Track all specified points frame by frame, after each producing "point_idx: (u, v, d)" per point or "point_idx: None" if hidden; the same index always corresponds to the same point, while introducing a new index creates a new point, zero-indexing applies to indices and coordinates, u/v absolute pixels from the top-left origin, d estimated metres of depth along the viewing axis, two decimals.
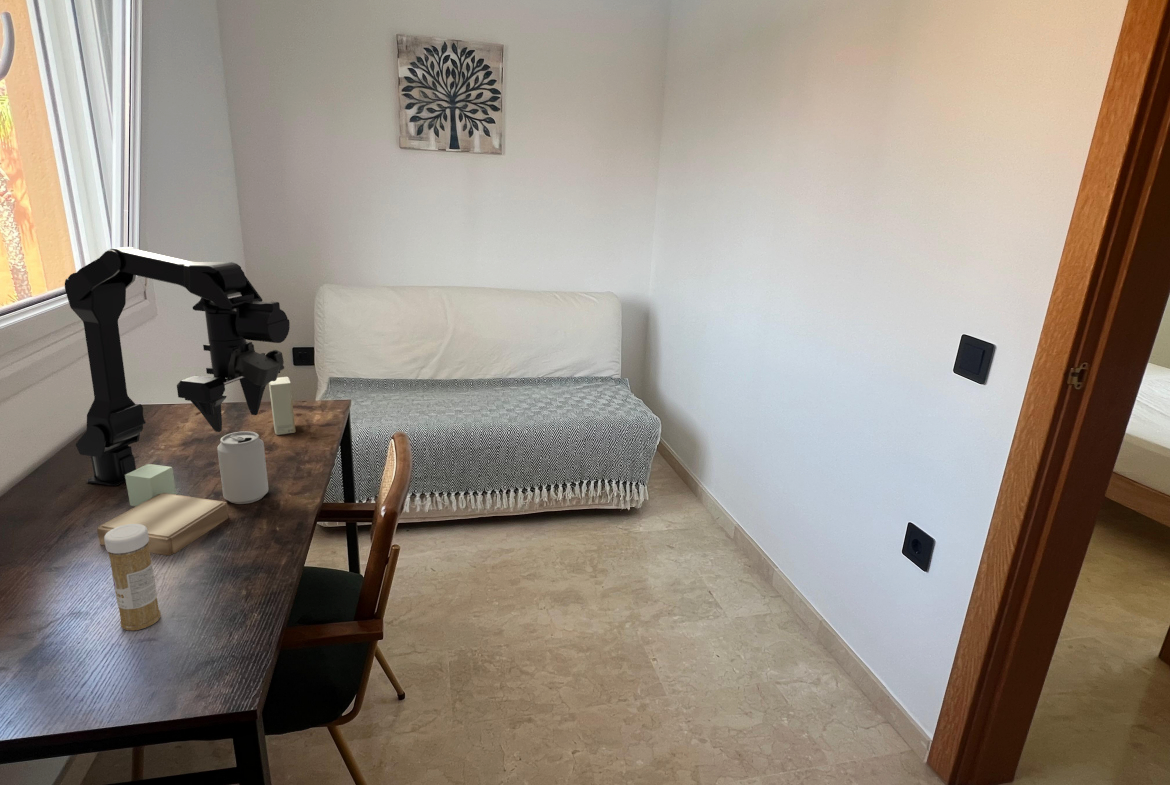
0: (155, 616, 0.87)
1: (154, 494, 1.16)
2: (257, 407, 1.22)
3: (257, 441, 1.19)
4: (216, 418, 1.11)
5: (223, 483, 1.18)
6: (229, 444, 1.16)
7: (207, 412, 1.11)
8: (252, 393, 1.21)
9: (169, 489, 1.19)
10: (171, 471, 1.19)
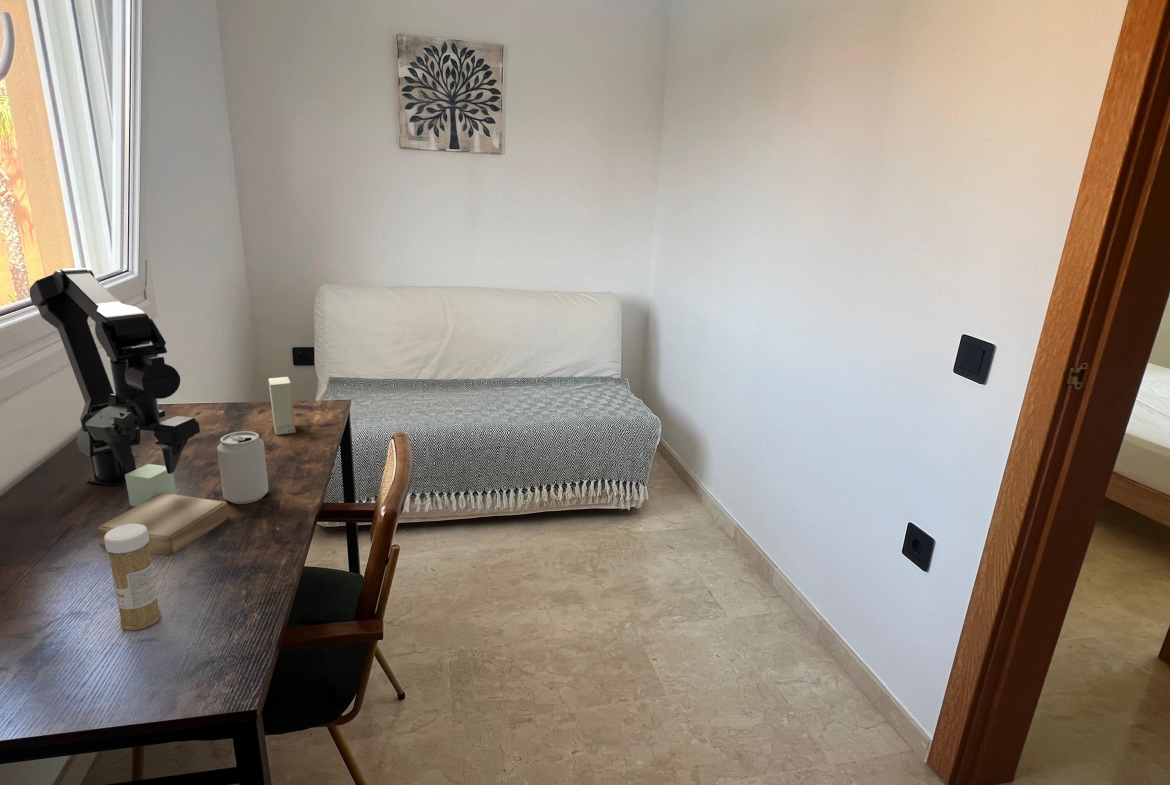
0: (155, 616, 0.87)
1: (154, 494, 1.16)
2: (167, 467, 1.15)
3: (257, 441, 1.19)
4: (114, 452, 1.16)
5: (223, 483, 1.18)
6: (229, 444, 1.16)
7: None
8: None
9: (169, 489, 1.19)
10: None
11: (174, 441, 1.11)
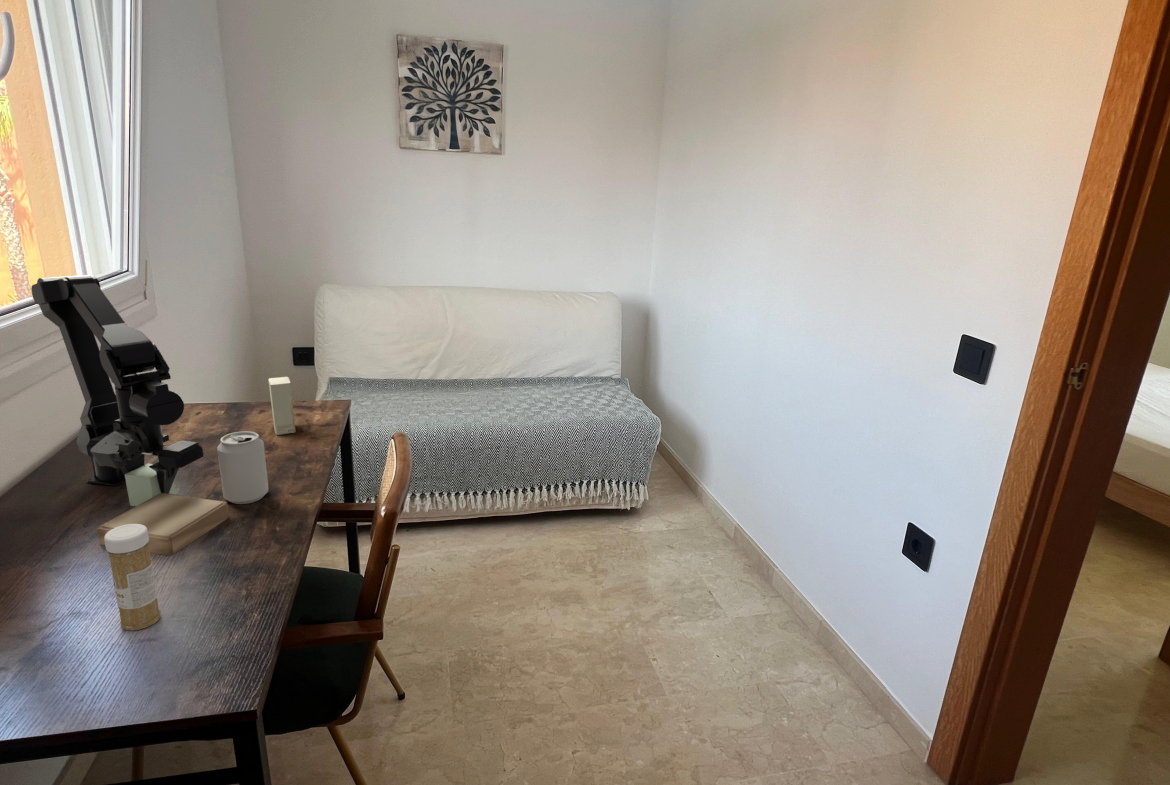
0: (155, 616, 0.87)
1: (154, 494, 1.16)
2: (162, 489, 1.17)
3: (257, 441, 1.19)
4: None
5: (223, 483, 1.18)
6: (229, 444, 1.16)
7: None
8: None
9: None
10: None
11: (178, 466, 1.12)
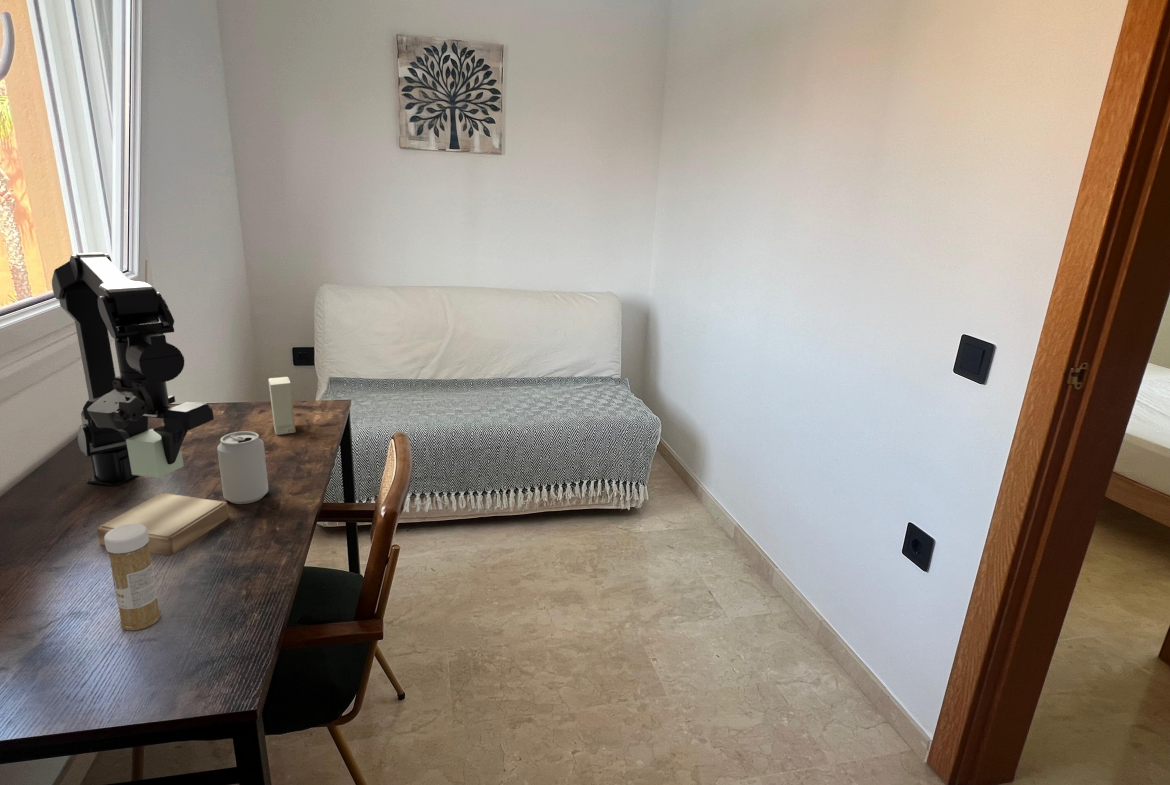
0: (155, 616, 0.87)
1: (159, 461, 1.03)
2: (167, 456, 1.05)
3: (257, 441, 1.19)
4: None
5: (223, 483, 1.18)
6: (229, 444, 1.16)
7: None
8: None
9: None
10: None
11: (186, 428, 1.00)
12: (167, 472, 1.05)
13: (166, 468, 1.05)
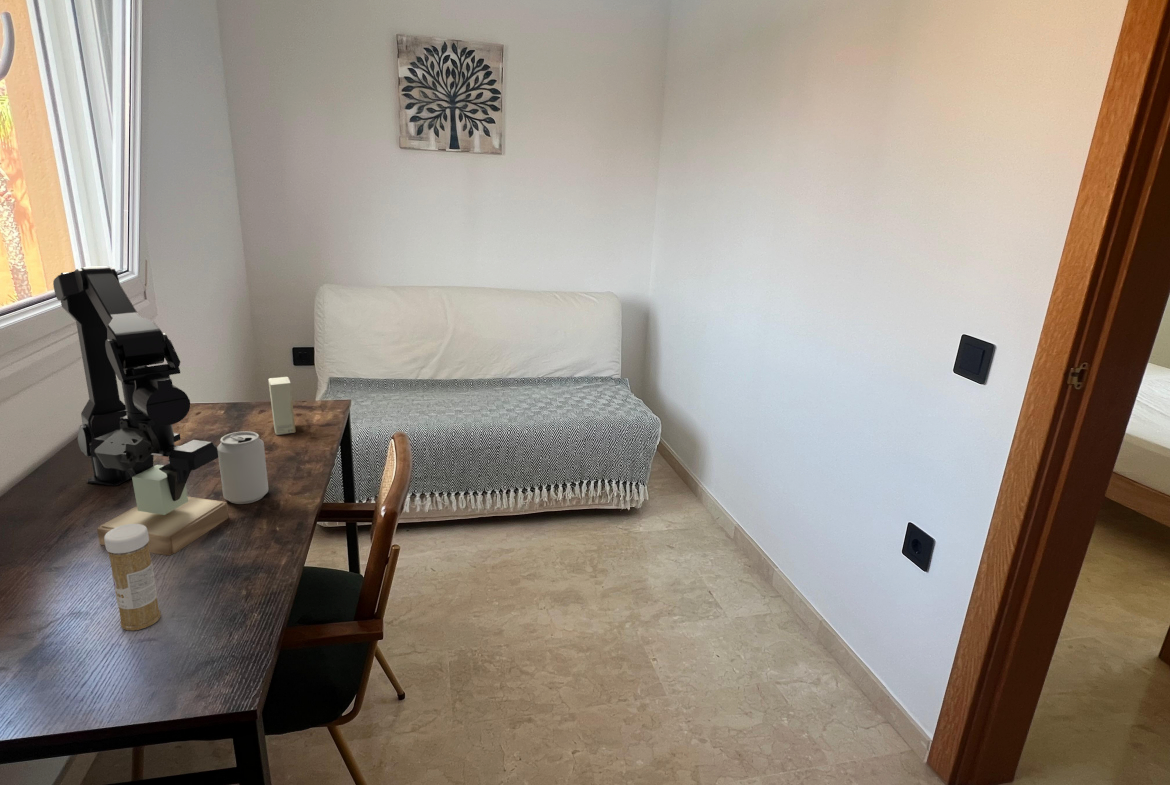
0: (155, 616, 0.87)
1: (164, 498, 1.05)
2: (172, 493, 1.06)
3: (257, 441, 1.19)
4: None
5: (223, 483, 1.18)
6: (229, 444, 1.16)
7: None
8: None
9: None
10: None
11: (191, 468, 1.01)
12: (172, 508, 1.07)
13: (171, 505, 1.07)
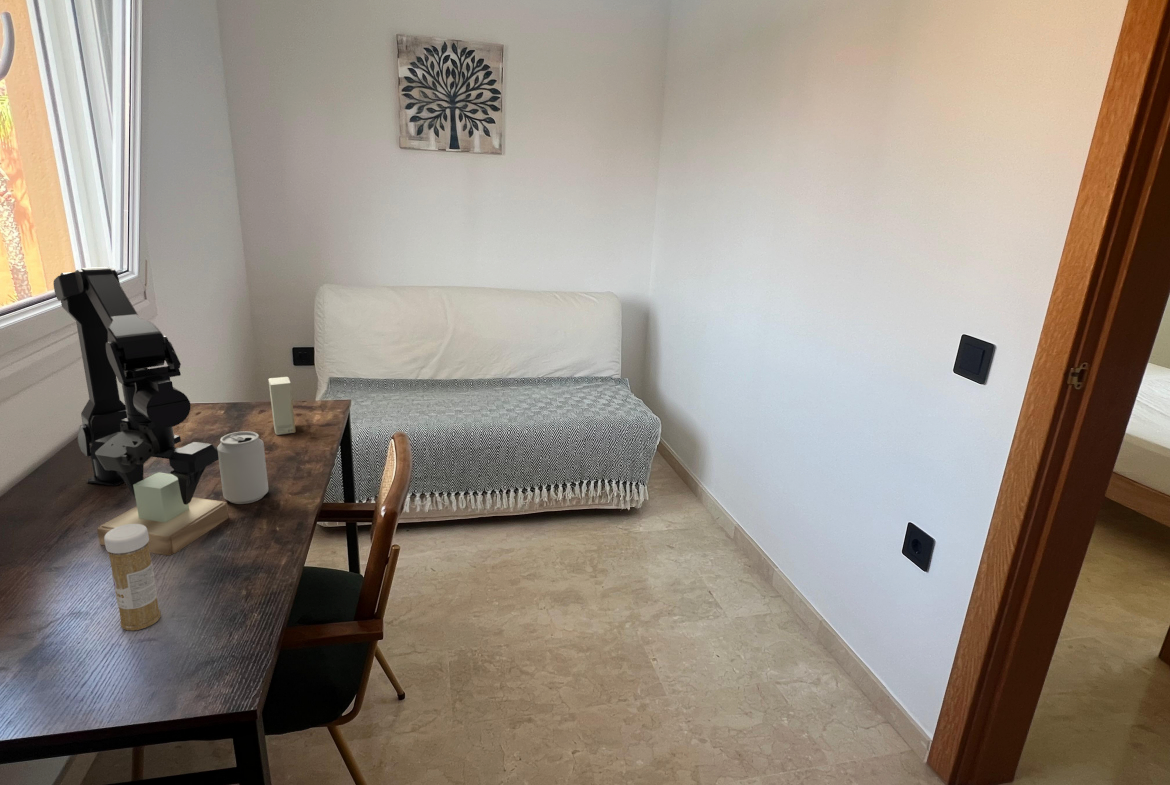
0: (155, 616, 0.87)
1: (165, 506, 1.06)
2: (183, 497, 1.06)
3: (257, 441, 1.19)
4: None
5: (223, 483, 1.18)
6: (229, 444, 1.16)
7: None
8: None
9: (181, 500, 1.09)
10: None
11: (191, 470, 1.02)
12: (173, 516, 1.07)
13: (172, 512, 1.07)
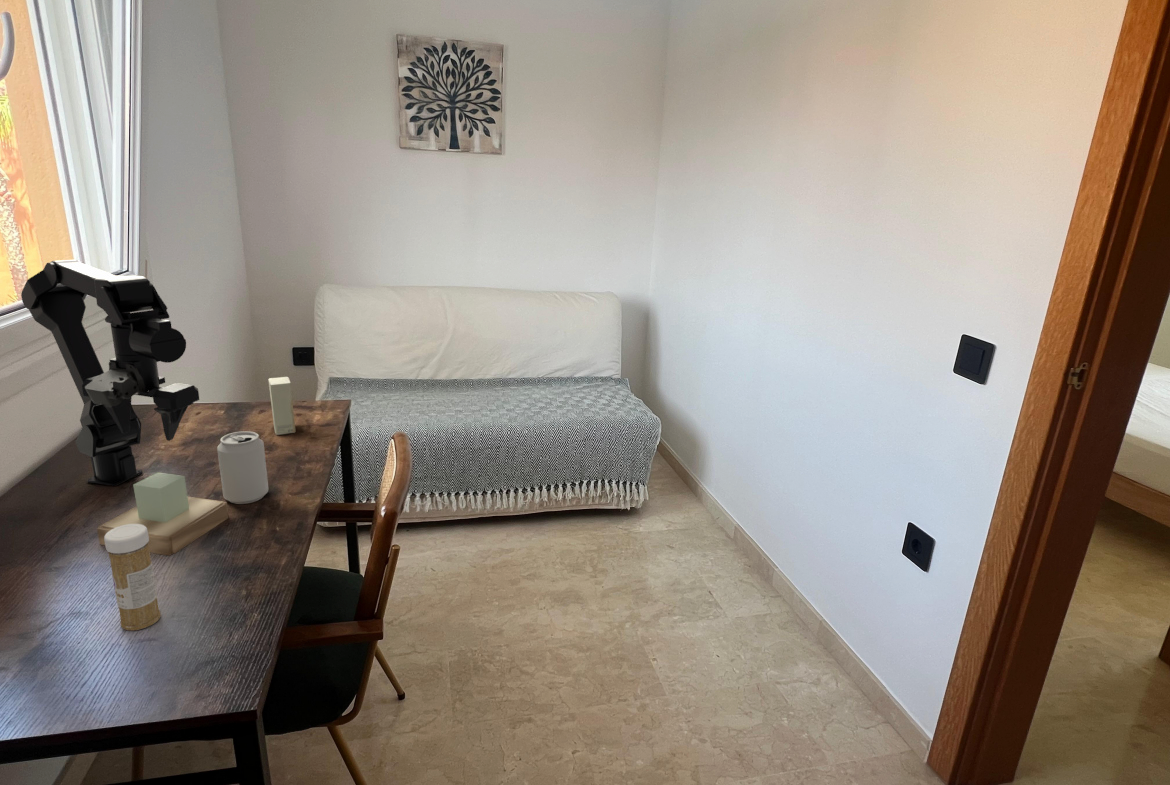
0: (155, 616, 0.87)
1: (165, 506, 1.06)
2: (166, 433, 1.15)
3: (257, 441, 1.19)
4: None
5: (223, 483, 1.18)
6: (229, 444, 1.16)
7: None
8: None
9: (181, 500, 1.09)
10: (183, 481, 1.09)
11: (173, 407, 1.11)
12: (173, 516, 1.07)
13: (172, 512, 1.07)
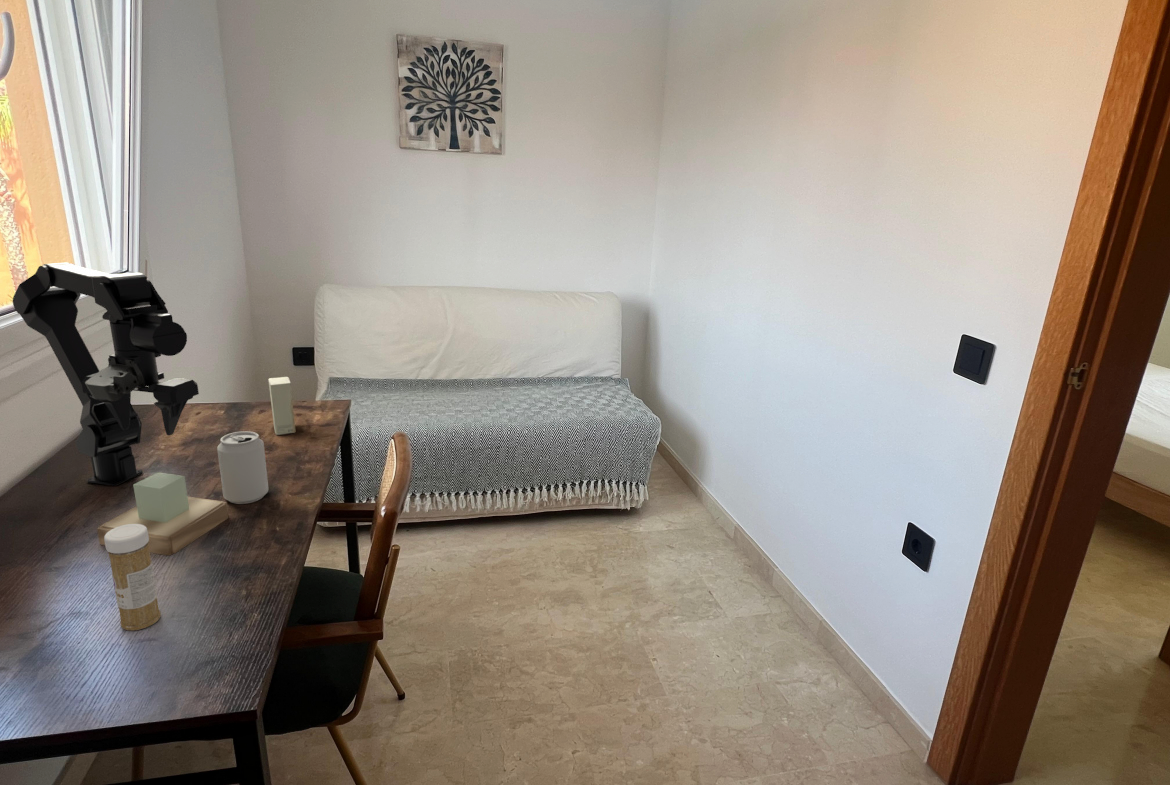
0: (155, 616, 0.87)
1: (165, 506, 1.06)
2: (166, 428, 1.17)
3: (257, 441, 1.19)
4: None
5: (223, 483, 1.18)
6: (229, 444, 1.16)
7: None
8: None
9: (181, 500, 1.09)
10: (183, 481, 1.09)
11: (173, 401, 1.12)
12: (173, 516, 1.07)
13: (172, 512, 1.07)
